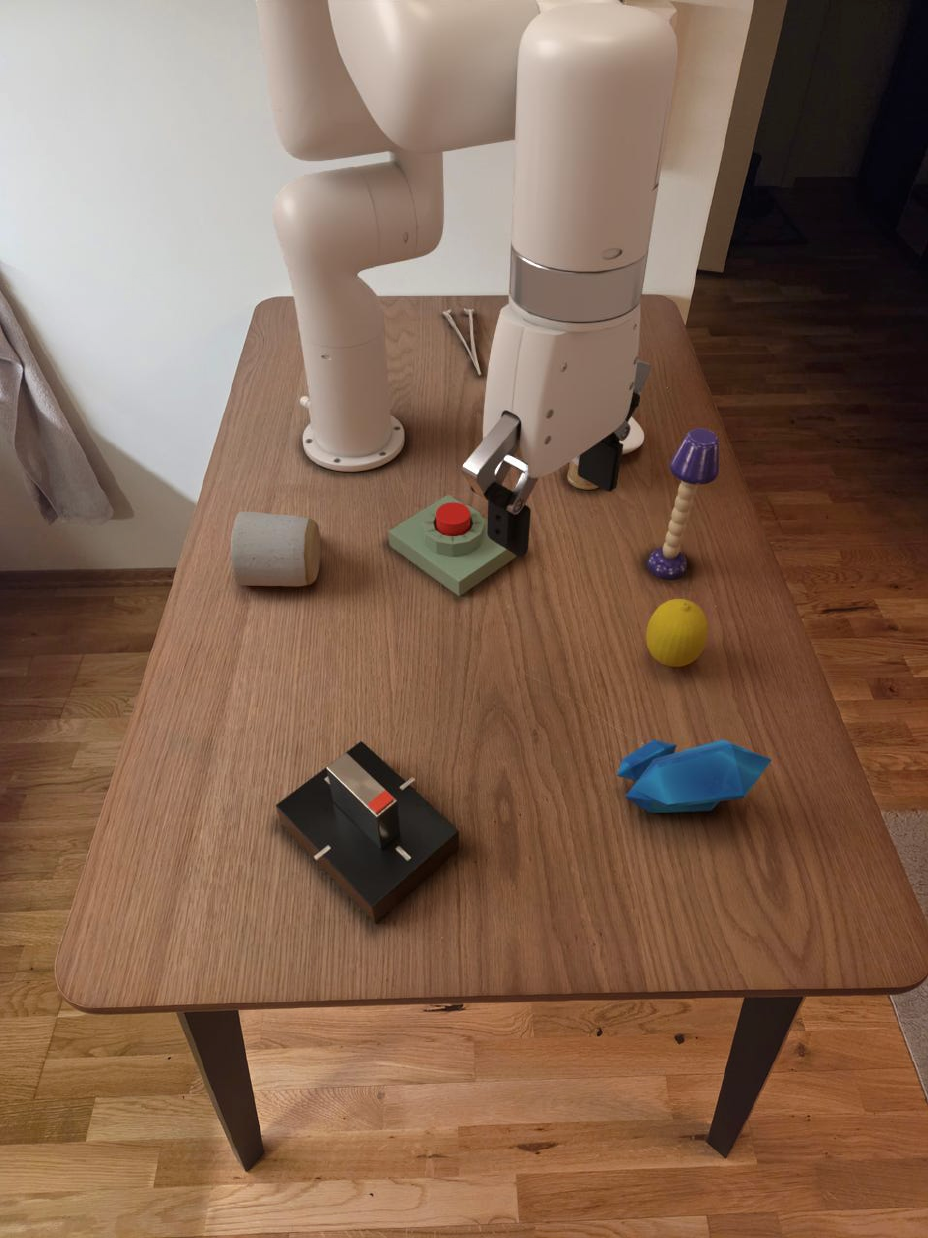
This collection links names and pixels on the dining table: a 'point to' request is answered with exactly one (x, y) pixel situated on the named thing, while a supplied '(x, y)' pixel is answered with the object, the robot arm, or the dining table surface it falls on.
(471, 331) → the tweezers
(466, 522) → the red button
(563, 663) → the dining table surface
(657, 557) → the toy lamp
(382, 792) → the silver block red tip
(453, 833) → the knob panel
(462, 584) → the button block
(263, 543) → the grey cylinder
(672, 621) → the lemon
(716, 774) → the crystal
